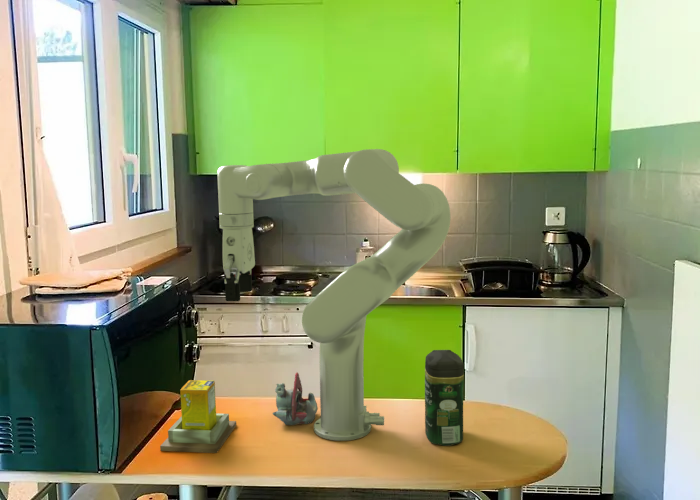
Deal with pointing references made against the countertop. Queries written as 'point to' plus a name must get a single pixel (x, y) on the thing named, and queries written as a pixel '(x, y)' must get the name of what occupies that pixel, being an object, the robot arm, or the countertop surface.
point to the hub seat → (199, 436)
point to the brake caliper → (294, 404)
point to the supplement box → (198, 405)
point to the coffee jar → (444, 397)
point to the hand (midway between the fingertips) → (239, 296)
